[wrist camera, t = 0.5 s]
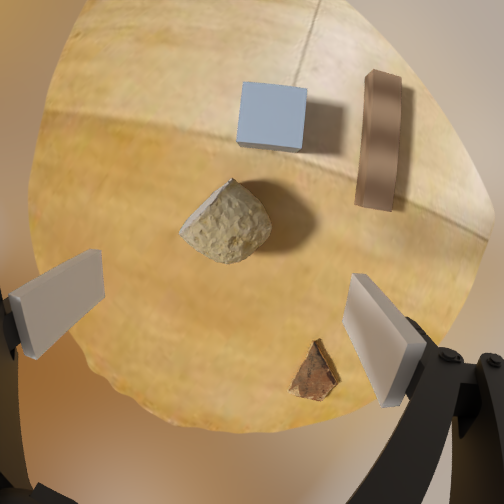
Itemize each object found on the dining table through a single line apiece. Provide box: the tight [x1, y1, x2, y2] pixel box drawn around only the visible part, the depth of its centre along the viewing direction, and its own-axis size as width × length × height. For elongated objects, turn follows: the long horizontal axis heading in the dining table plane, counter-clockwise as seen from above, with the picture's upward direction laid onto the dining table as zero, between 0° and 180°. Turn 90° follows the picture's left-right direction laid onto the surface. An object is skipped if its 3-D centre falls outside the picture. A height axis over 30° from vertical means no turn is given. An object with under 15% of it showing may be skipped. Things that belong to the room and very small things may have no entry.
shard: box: [287, 341, 338, 401], centre depth 43 cm, size 11×8×2 cm
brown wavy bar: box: [354, 69, 402, 212], centre depth 33 cm, size 18×4×4 cm, turn 174°
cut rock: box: [179, 178, 272, 264], centre depth 33 cm, size 10×10×10 cm
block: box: [236, 82, 307, 153], centre depth 32 cm, size 7×7×6 cm
